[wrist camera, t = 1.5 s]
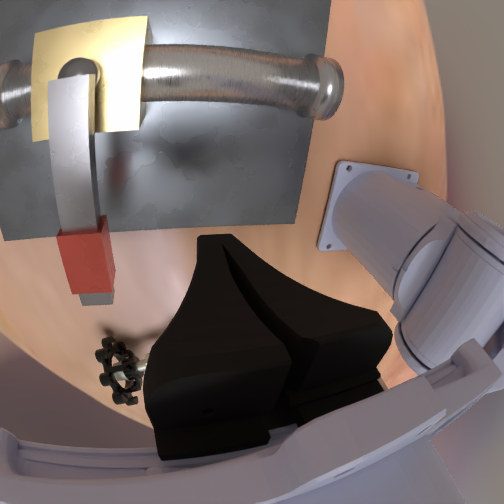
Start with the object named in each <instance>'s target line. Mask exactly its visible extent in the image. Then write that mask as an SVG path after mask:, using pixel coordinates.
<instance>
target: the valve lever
mask: <svg viewBox="0 0 504 504" xmlns="http://www.w3.org/2000/svg"><path fill="white" fill-rule="evenodd" d="M99 80H100V68H99V66H98V64H97V63H96V62H95V61H93V60H91V59H87V58H83V57H78V58H74V59H71V60H69V61H68V62H67V63H65V64H64V66H63V67H62V68H61V70H60V72H59V74H58V78H57V80H52V81H48V129H49V145H50V157H51V167H52V175H53V183H54V190H55V196H56V202H57V208H58V214H59V219H60V224H61V228H60V230H59V232H58V234H57V236H56V238H57V242H58V246H59V250H60V254H61V258H62V261H63V265H64V269H65V272H66V275H67V279H68V282H69V285H70V288H71V291H72V294H79V297H80V300H81V303H82V306H88V305H110V304H113V299H114V286H113V285H114V278H115V271H116V270H115V265H114V259H113V254H112V248H111V241H110V234H109V227H108V220H107V215H101V210H100V202H99V193H98V182H97V170H96V154H95V126H94V103H95V87H96V86H97V84H98V82H99Z"/></svg>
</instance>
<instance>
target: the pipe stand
mask: <svg viewBox="0 0 504 504" xmlns="http://www.w3.org/2000/svg"><path fill="white" fill-rule="evenodd" d="M330 6H331V0H0V228H1V231H2V235H3V238H4V241H11V240H21V239H31V238H42V237H54V236H57V234H58V232H59V230H60V228H61V224H60V219H59V214H58V208H57V202H56V196H55V190H54V183H53V175H52V167H51V157H50V145H49V129H48V81H52V80H57V78H58V74H59V72H60V70H61V68H62V67H63V66H64V64H65V63H67V62H68V61H69V60H71V59H74V58H78V57H83V58H87V59H91V60H93V61H95V62H96V63H97V64H98V66H99V68H100V80H99V82H98V84H97V86H96V87H95V103H94V126H95V154H96V170H97V182H98V193H99V202H100V210H101V215H107V220H108V227H109V232H120V231H136V230H152V229H170V228H190V227H212V226H236V225H265V224H294V223H295V218H296V213H297V208H298V203H299V198H300V193H301V188H302V183H303V178H304V172H305V167H306V162H307V156H308V151H309V145H310V139H311V134H312V128H313V122H314V119H315V120H321V121H324V120H327V119H329V118H331V117H332V116H333V115H334V113H335V112H336V111H337V109H338V107H339V105H340V103H341V100H342V96H343V91H344V76H343V71H342V69H341V66H340V65H339V63H338V62H337V61H336V60H334V59H331V58H327V57H324V52H325V45H326V38H327V30H328V22H329V14H330Z"/></svg>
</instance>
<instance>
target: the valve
mask: <svg viewBox="0 0 504 504" xmlns="http://www.w3.org/2000/svg"><path fill="white" fill-rule="evenodd" d="M113 342H115V339H114V338H113V337H112V336H109V337H106V338H103V339H102V346H103V348H102V349H99V350H96V352H95V356H96V359H97V361H98V362H100V363H102V364H103V367H104V373H101V374H100V376H99V379H100V382H101V384H102V385H103V386H111V387H112V389H113V394H112V398H113V401H114V403H115V404H117V405H118V404H123V403H126V405H128V406H130V405H135V404H138V397H137V396H135V397H133V396H132V394H131V393H132V392H135V391H139V390H141V386H142V378H141V377H143V375H144V371H145V369H146V365H147V361H148V358H149V354H150V353H148V354H145V359H144V360H139V358H138V357H136V356H135V355H134V353H133V352H132V351H130V350H126V346H125V344H124V343H123V342H119V343H116V344H114V345H113V346H112V343H113ZM113 356H115V357H116V358H117V359H118V361H119V362H118V363H114V364H113V367H112V357H113ZM128 356H129V358H127V359H126V358H125V357H128ZM115 377H116V378H115ZM116 379H117V380H118V381H122V380H125V381H126V384H125V388H123V387H121V386H120V384H119V383H118V382H117V380H116ZM134 379H135V381H133V380H134Z"/></svg>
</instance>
